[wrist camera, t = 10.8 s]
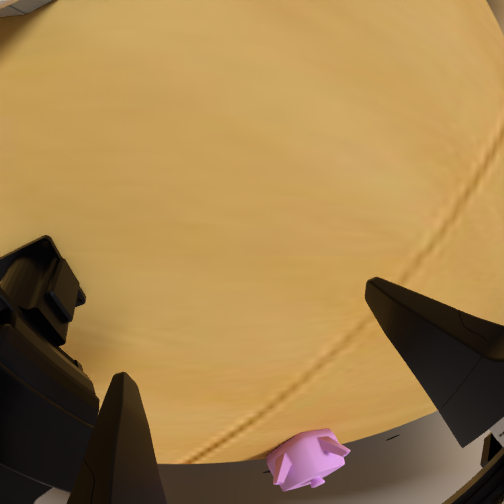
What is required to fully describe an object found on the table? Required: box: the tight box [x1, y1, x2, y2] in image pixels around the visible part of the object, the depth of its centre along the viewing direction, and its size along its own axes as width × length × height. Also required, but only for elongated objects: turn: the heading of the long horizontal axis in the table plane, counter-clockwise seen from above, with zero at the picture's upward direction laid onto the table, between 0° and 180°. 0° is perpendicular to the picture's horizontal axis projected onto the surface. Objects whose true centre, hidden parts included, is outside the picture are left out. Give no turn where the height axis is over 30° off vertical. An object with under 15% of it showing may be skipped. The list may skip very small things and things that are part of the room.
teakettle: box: [266, 429, 350, 491], centre depth 52 cm, size 17×17×12 cm
